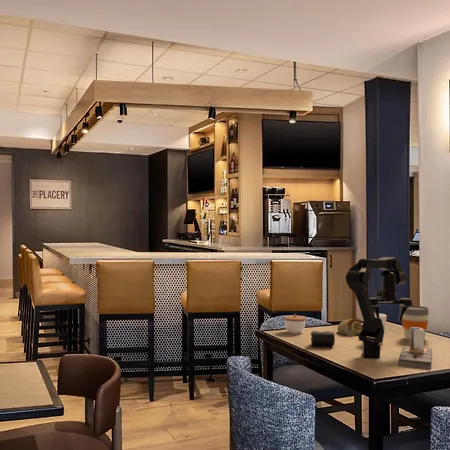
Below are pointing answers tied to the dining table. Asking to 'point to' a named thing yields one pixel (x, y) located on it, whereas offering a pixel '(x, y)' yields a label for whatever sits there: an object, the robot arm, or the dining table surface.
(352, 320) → the pastry
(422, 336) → the grey upright block
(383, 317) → the foam cup
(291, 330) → the lidded jar
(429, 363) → the post board
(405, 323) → the reusable coffee cup
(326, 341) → the end cap
